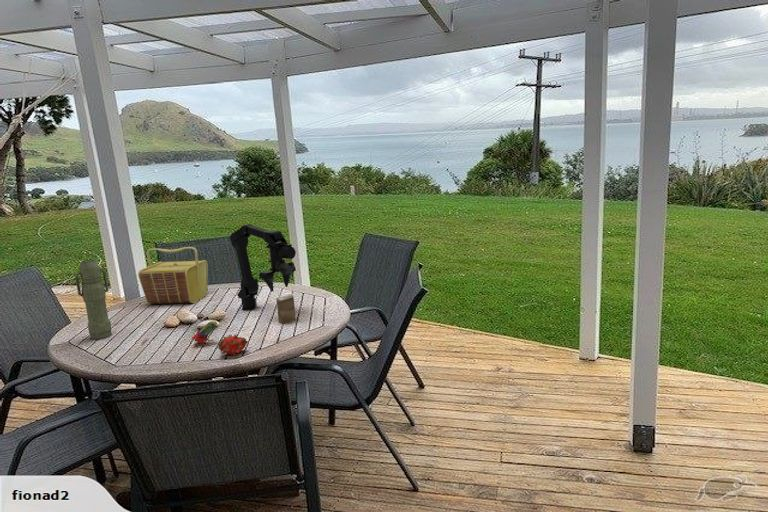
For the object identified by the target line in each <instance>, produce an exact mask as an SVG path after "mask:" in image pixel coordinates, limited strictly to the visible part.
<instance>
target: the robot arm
mask: <svg viewBox="0 0 768 512" xmlns="http://www.w3.org/2000/svg"><path fill="white" fill-rule="evenodd" d="M251 236H254V237H256V238H260V239H262V240H263V241H264V242H265V243H266V244H267V245H266V246H265V249H268V250H269V258H270V259H268V262H269V263H270V268H269V270H265V271H260V272H259V274H258V277H259V279H261V280H263V281H264V282H265V284H266V286H267V287H268V289H269V290H270V292H274V280H275V278H274V276H275V275H278V274H282V279H283V283H284V286H285V288H288V286H289V283H290V278H291V276H292V275H293V274H294V273H295V272H296V271H297V270H296V266H295V263H294V262H293V261H291V262H286V260H285V259H288V260H293V259H294V258H295V257H296V254H297V253H296V250H295V248H294V247H293V245H292V243H289V244H288V241H287V240H286V238H285V236H284V235H283V234H282V232H281V230H275V229H274V230H273V229H272V230H270V229H269V230H268V229H265V228H262V227H259V226H256V225H253V224H251V223H249V224H248V223H247V224H243V225H242V226H241V227H240V228H238V229H237V230H235V231H234V232H231V234H230V235H229V240H230V244H231V245H232V247H233V249H235V250H236V256H237V260H238V264H239V269H240V274H241V281H240V284H239V285H240V289H239V291H238V293H237V298H239V299H241V310H242V311H248V310H255V309H256V308H257V306H258V303H257V301H258V300H257V297H256V296H257V295H258V293H259V292H258V291H259V287H260V284H259V282H258V281H259V280H258V279H257V278H255V277H254V276H253V273H252V269H251V263H250V259H249V254H248V250H247V248H248V244H249V238H250V237H251Z"/></svg>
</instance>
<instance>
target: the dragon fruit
mask: <svg viewBox="0 0 768 512" xmlns="http://www.w3.org/2000/svg"><path fill="white" fill-rule="evenodd" d="M247 345H248V340H247V339H246V338H245V337H242V336H240V337H239V336H238V335H237V334H234V335H232V334H229V335H228V336H223V337H222V338H221V340H220V341H219V343H218V347H217V348H218V350H219V351H220V354H221V355H224V354H226V356H230V355H231V356H233V357H234V356H235V355H236V354H242V353H243V352H244V351H245V350H244V349H245V348H246V346H247Z"/></svg>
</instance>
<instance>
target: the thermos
mask: <svg viewBox="0 0 768 512" xmlns="http://www.w3.org/2000/svg"><path fill="white" fill-rule="evenodd" d="M101 273H102V274H103V280H104V281H103V280H102V279H101V277H102V276H101ZM79 277H80V279H79ZM74 279H75V285H76V290H77V295H78V296H79V297H82V301H83V302H84V304H85V309H86V315H87V320H88V322H87V329H88V333H89V336H90V340H92V341H97V340H100V341H101V340H104V339H108V338H110V337H111V336H113V332H112V323H111V320H110V318H109V315H108V308H107V303H106V297H107V296H106V293H107V292H109V283H108V277H107V271H105V270H104V269H103V268H102V269H101V268H100V265H99V263H98V261H97V260H96V259H86V260H82V261H80V264H79V272H78V273H76V275H75V277H74ZM79 280H81V284H82V286H80V281H79ZM102 281H103V282H104V283H103V282H102Z"/></svg>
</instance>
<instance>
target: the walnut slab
mask: <svg viewBox="0 0 768 512" xmlns="http://www.w3.org/2000/svg"><path fill="white" fill-rule="evenodd" d="M276 309H277V318H278V319H277V320H278V323H279V324H281V325H284V324H285V325H286V324H288V323H291V322H294V321H295V322H296V321H297V320H296V319H297V317H296V308H295V299H294V295H293V294H290V293H289V294H285V295H282V296H278V297H276Z"/></svg>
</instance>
